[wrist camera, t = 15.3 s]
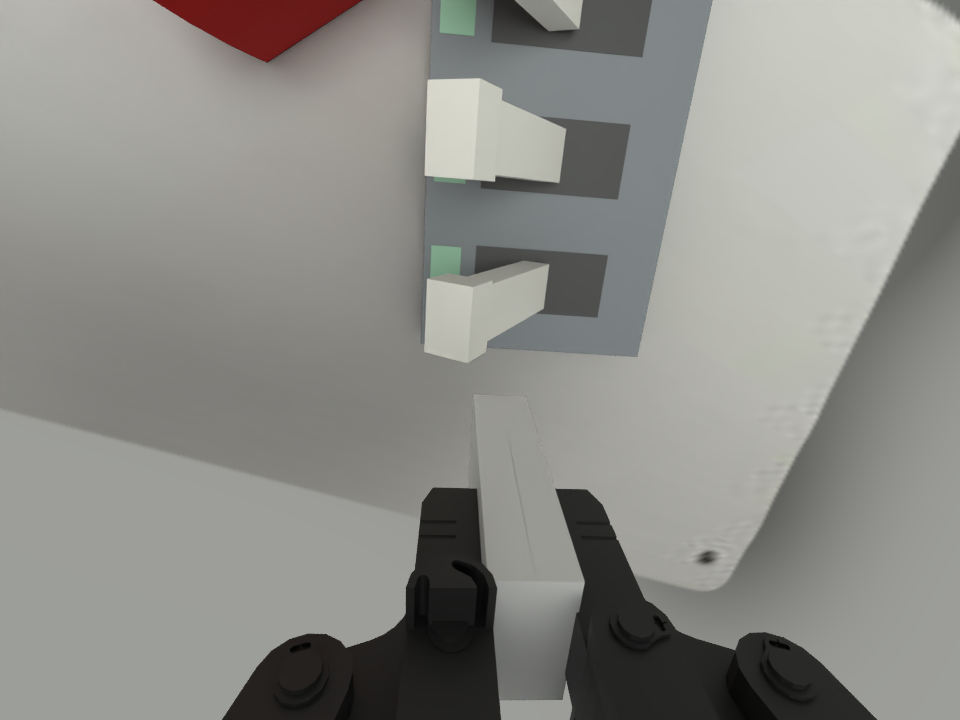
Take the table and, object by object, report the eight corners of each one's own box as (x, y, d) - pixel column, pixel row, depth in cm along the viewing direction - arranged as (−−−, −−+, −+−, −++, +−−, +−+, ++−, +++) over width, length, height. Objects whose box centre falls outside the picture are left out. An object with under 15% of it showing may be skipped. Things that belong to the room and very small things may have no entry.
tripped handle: (514, 307, 32) (424, 352, 22) (520, 255, 31) (426, 278, 21) (547, 313, 31) (467, 363, 22) (554, 260, 30) (473, 287, 20)
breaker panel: (424, 331, 36) (420, 343, 33) (439, -95, 27) (436, -128, 24) (624, 343, 37) (637, 357, 34) (704, -64, 28) (732, -92, 25)
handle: (527, 185, 29) (424, 175, 20) (534, 122, 28) (427, 79, 19) (563, 188, 28) (473, 179, 19) (572, 123, 27) (480, 78, 18)
